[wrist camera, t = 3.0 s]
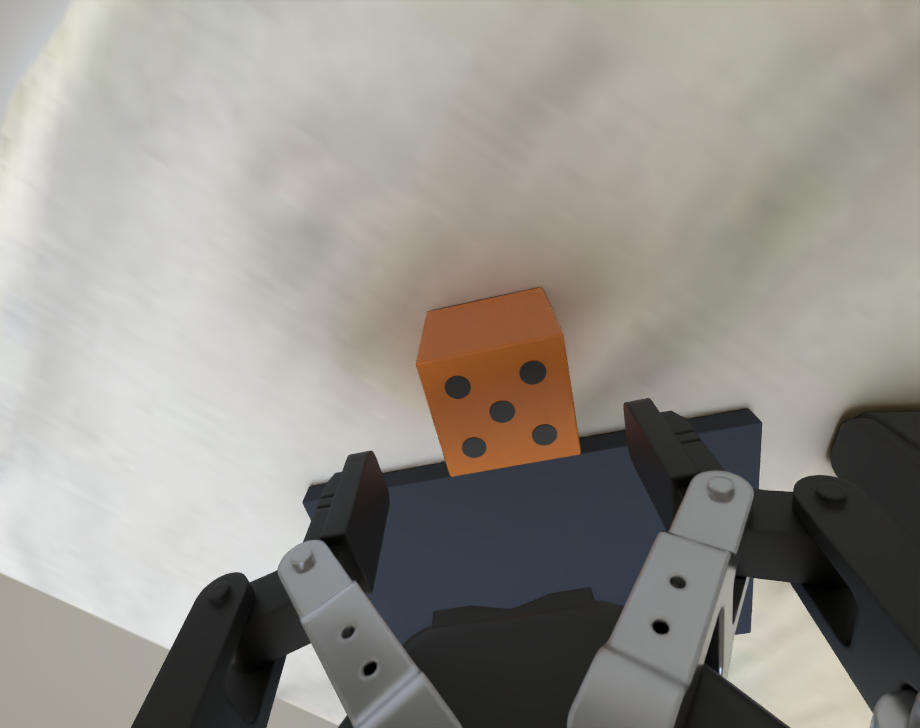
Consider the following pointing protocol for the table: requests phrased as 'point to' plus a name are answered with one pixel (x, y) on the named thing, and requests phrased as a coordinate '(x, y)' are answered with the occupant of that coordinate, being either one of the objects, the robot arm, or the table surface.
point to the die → (498, 383)
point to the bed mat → (531, 527)
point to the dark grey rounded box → (884, 463)
